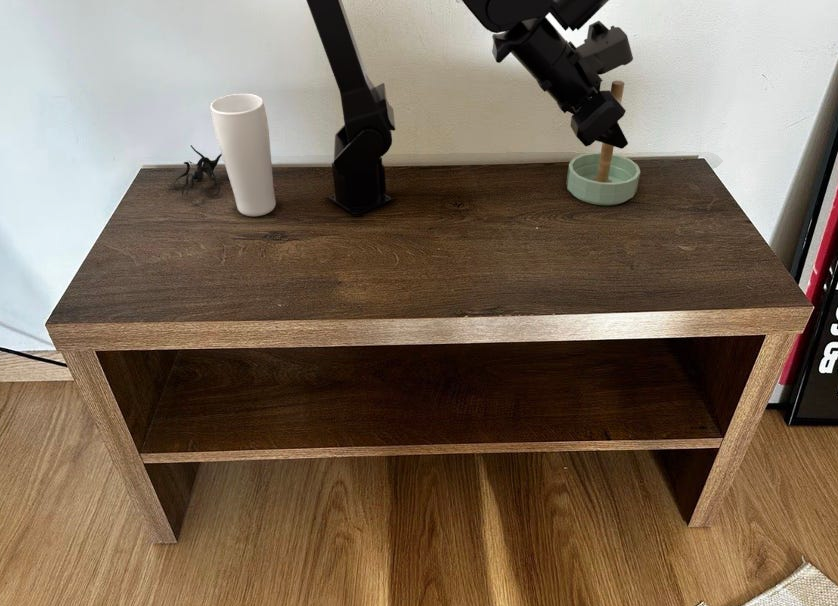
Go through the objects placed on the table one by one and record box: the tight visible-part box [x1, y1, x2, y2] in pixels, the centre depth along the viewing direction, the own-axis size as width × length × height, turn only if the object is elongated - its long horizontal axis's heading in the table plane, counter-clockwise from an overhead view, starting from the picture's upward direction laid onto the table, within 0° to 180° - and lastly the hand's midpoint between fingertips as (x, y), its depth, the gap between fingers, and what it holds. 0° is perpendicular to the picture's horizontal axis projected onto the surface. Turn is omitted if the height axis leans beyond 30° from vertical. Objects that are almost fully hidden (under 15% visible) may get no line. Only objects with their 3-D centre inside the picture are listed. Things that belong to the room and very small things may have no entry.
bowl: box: [566, 152, 641, 206], centre depth 100 cm, size 10×10×4 cm
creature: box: [173, 144, 222, 198], centre depth 101 cm, size 8×5×8 cm
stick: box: [592, 80, 625, 183], centre depth 96 cm, size 3×3×15 cm
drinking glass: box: [209, 93, 277, 218], centre depth 93 cm, size 7×7×15 cm
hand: (619, 137), depth 96 cm, fingers open, 5 cm apart
